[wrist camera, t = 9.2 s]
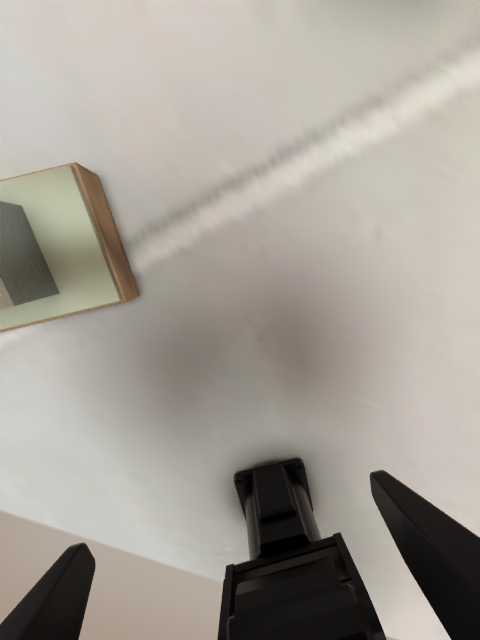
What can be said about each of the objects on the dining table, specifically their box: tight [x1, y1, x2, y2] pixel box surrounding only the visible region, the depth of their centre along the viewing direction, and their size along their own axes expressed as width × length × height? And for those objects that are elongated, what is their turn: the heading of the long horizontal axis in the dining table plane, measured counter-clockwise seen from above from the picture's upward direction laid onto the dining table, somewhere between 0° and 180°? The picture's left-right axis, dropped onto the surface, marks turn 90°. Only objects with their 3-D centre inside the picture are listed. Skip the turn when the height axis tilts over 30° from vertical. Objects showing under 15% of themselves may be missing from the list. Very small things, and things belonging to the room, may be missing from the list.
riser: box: [0, 162, 139, 332], centre depth 16 cm, size 8×12×3 cm, turn 103°
